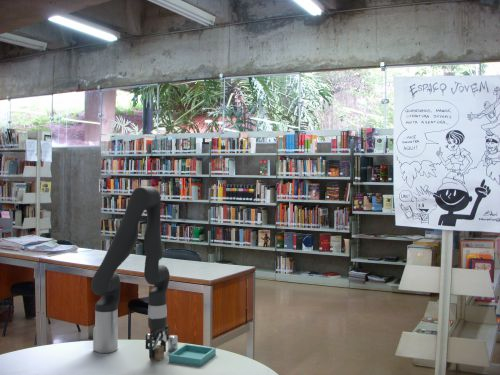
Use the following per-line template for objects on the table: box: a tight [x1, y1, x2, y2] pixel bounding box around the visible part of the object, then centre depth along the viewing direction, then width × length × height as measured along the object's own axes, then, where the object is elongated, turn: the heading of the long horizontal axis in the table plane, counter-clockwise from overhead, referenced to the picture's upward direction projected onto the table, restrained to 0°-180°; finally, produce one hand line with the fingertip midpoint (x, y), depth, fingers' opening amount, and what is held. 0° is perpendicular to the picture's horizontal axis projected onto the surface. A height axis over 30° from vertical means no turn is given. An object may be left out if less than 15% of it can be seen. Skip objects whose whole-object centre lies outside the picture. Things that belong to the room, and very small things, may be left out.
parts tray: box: [168, 343, 217, 367], centre depth 205 cm, size 14×14×3 cm
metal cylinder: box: [167, 334, 179, 353], centre depth 214 cm, size 4×4×6 cm
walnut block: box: [149, 344, 165, 362], centre depth 204 cm, size 4×4×5 cm
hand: (157, 355), depth 204 cm, fingers open, 8 cm apart
